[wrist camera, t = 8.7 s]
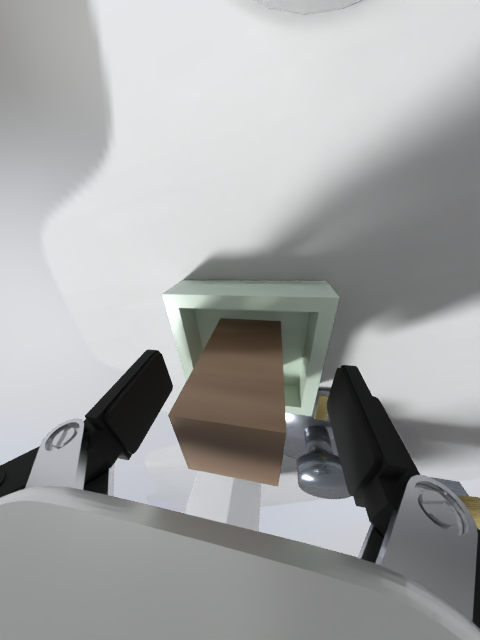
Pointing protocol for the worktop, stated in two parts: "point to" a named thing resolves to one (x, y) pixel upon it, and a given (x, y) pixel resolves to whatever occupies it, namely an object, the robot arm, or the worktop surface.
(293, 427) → the crank base
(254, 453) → the block
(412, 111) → the worktop surface
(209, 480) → the milk
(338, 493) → the crank
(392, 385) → the worktop surface
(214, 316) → the tray
